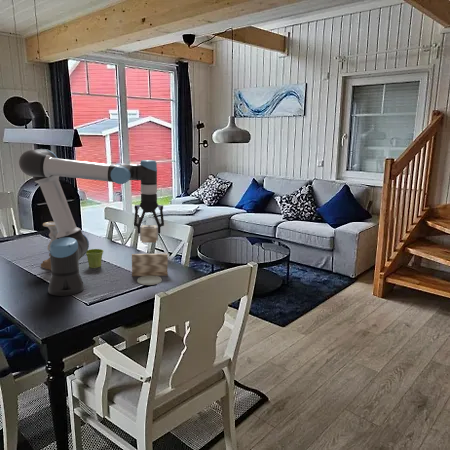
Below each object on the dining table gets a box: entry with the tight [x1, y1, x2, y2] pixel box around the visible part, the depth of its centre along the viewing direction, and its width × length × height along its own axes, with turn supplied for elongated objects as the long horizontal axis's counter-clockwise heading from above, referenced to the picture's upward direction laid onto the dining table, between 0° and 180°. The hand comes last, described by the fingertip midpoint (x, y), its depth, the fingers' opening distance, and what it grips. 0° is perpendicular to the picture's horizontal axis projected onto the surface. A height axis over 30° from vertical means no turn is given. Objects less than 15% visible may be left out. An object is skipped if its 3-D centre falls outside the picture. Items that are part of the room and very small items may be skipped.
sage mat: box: [136, 275, 163, 286], centre depth 198 cm, size 12×12×1 cm
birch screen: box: [131, 253, 169, 277], centre depth 205 cm, size 18×4×11 cm, turn 99°
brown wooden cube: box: [141, 224, 158, 244], centre depth 193 cm, size 7×7×7 cm
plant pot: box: [85, 248, 104, 269], centre depth 215 cm, size 9×9×9 cm
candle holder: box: [40, 220, 58, 271], centre depth 212 cm, size 11×11×24 cm
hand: (149, 239), depth 193 cm, fingers closed on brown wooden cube, 7 cm apart
